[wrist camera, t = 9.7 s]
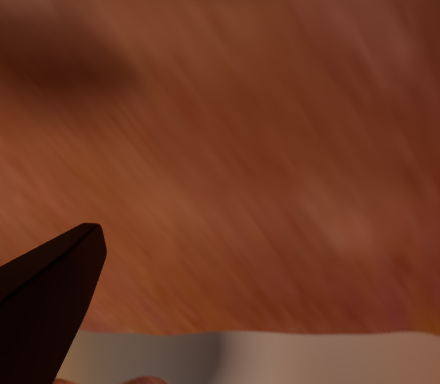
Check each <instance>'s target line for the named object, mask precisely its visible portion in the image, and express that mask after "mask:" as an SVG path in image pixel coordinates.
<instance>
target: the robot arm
mask: <svg viewBox="0 0 440 384" xmlns="http://www.w3.org/2000/svg"><path fill="white" fill-rule="evenodd" d="M106 255H107V249H106V244H105V239H104V235H103V230H102V227H101V225H99V224H97V223H82V224H80V225H78V226H76V227H74V228H73V229H71V230H69V231H67V232H65V233H63V234H61V235H59V236H57V237H56V238H54V239H52V240H50V241H48V242H46V243H44V244H42V245H40V246H38V247H37V248H35V249H33V250H31V251H29V252H27V253H25V254H23V255H21V256H19V257H18V258H16V259H14V260H12V261H10V262H8V263H6V264H4V265H2V266H0V384H53V382H54V380H55V378H56V375H57V373H58V371H59V369H60V367H61V365H62V363H63V361H64V359H65V357H66V355H67V353H68V350H69V348H70V346H71V344H72V342H73V340H74V338H75V336H76V333H77V332H78V330H79V327H80V325H81V323H82V321H83V319H84V317H85V315H86V312H87V310H88V307H89V305H90V302H91V299H92V296H93V294H94V291H95V288H96V285H97V282H98V279H99V276H100V273H101V271H102V268H103V265H104V262H105V259H106Z"/></svg>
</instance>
